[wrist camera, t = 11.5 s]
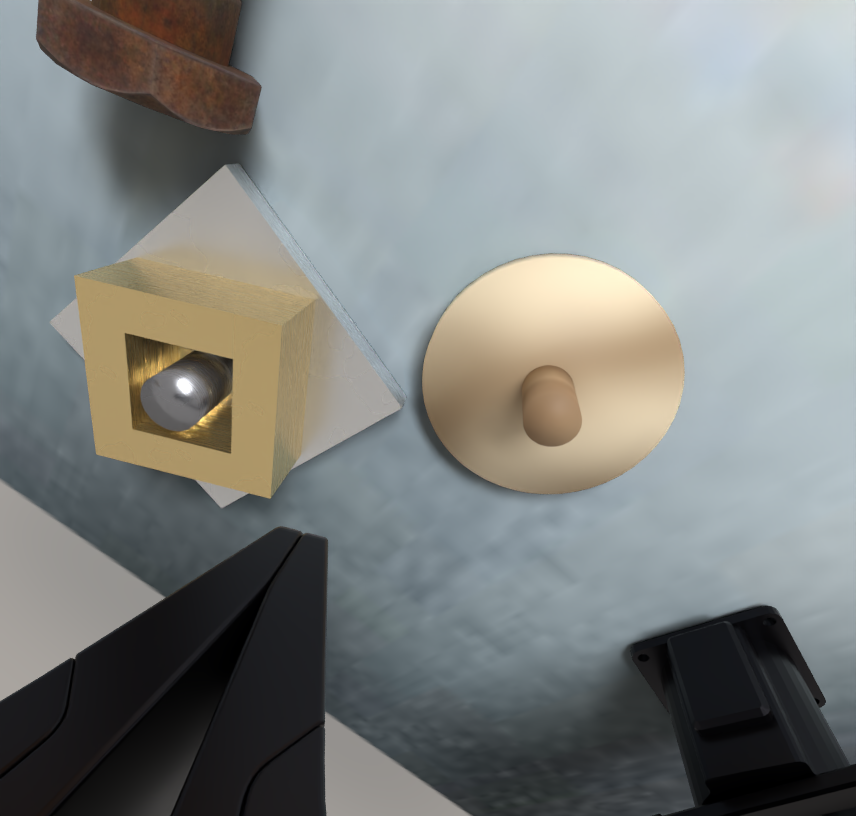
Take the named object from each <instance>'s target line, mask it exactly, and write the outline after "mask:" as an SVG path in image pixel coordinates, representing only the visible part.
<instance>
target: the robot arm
mask: <svg viewBox="0 0 856 816" xmlns="http://www.w3.org/2000/svg"><path fill="white" fill-rule="evenodd" d="M327 574H328V540H327V538H325V537H322V536H318V535H314V534H310V533H305V534H303V533H302V532H301V531H298V530H295V529H291V528H287V527H282V526H280V527H277V528H275V529H273V530H272V531H270V532H269V533H267V534H266V535H264V536H262V537H261V538H259V539H258V540H256V541H254V542H253V543H251V544H250V545H248V546H247V547H245V548H243V549H242V550H240V551H239V552H237V553H236V554H234V555H232V556H231V557H229V558H228V559H226V560H225V561H223V562H221V563H220V564H218V565H217V566H215V567H213V568H212V569H210V570H209V571H207V572H206V573H204V574H202V575H201V576H199V577H198V578H196V579H195V580H193V581H191V582H190V583H188V584H187V585H185V586H183V587H182V588H180V589H179V590H177V591H176V592H174V593H172V594H171V595H169V596H168V597H166V598H165V599H163V600H162V601H160V602H158V603H157V604H155V605H154V606H152V607H150V608H149V609H147V610H146V611H144V612H143V613H141V614H139V615H138V616H136V617H135V618H133V619H132V620H130V621H128V622H127V623H125V624H124V625H122V626H120V627H119V628H117V629H116V630H114V631H113V632H111V633H109V634H108V635H106V636H105V637H103V638H101V639H100V640H98V641H97V642H96V643H94V644H92V645H91V646H89V647H87V648H86V649H84V650H83V651H81V652H80V653H78V654H77V655H76V657H75V659H73V658H70V659H68V660H66V661H65V662H63V663H62V664H60V665H59V666H57V667H55V668H54V669H52V670H51V671H49V672H47V673H46V674H45V675H43V676H41V677H39V678H38V679H36V680H35V681H33V682H31V683H30V684H28V685H26V686H25V687H23V688H21V689H20V690H18V691H16V692H15V693H13V694H12V695H10V696H8V697H7V698H5V699H3V700H2V701H0V816H326V805H325V764H324V762H325V761H324V760H325V759H324V756H325V752H324V751H325V728H324V724H325V686H326V630H327ZM766 618H768V619H766ZM630 651H631V655H632V659H633V661H634V663H635V664H636V666H637V667H638V669H639V670H640V672H641V673H642V675H643V676H644V677H645V679H646V680H647V682H648V683H649V685H650V686H651V688H652V689H653V691H654V692H655V693H656V695H657V696H658V698H659V699H660V701H661V702H662V704H663V705H664V707H665V708H666V710H667V711H668V712H669V714H670V716H671V720H672V724H673V727H674V731H675V734H676V738H677V742H678V745H679V749H680V753H681V756H682V760H683V764H684V767H685V771H686V775H687V778H688V782H689V786H690V789H691V793H692V796H693V800H694V804H695V807H693V808H690V809H686V810H682V811H679V812H675V813H671V814H667V815H664V816H856V764H854V765H850V764H849V762H848V760H847V758H846V756H845V754H844V753H843V751H842V749H841V747H840V745H839V743H838V742H837V740H836V738H835V736H834V734H833V732H832V730H831V729H830V727H829V725H828V723H827V721H826V719H825V718H824V716H823V714H822V712H821V710H820V707H822V706H823V705H825V703H826V700H825V698H824V696H823V694H822V692H821V690H820V688H819V686H818V685H817V683H816V681H815V679H814V677H813V675H812V673H811V671H810V670H809V668H808V666H807V664H806V662H805V660H804V658H803V656H802V655H801V653H800V651H799V649H798V647H797V645H796V643H795V641H794V640H793V638H792V636H791V634H790V632H789V630H788V628H787V626H786V625H785V623H784V621H783V619H782V617H781V615H780V614H779V612H778V610H777V609H776V608H774V607H772V606H763V607H759V608H755V609H752V610H749V611H745V612H742V613H738V614H735V615H732V616H728V617H725V618H722V619H718V620H715V621H711V622H708V623H705V624H701V625H698V626H695V627H691V628H688V629H684V630H681V631H678V632H674V633H671V634H668V635H664V636H661V637H658V638H654V639H651V640H647V641H644V642H641V643H637V644H635V645H633V646H632V647H631V650H630ZM652 816H662V815H661V814H656V815H652Z"/></svg>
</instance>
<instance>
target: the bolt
mask: <svg viewBox="0 0 856 816" xmlns="http://www.w3.org/2000/svg"><path fill="white" fill-rule="evenodd" d="M241 6H242V3H241V0H92V1H90V0H39V2H38V18H37V34H36V39H37V42H38V44H39V46H40V49H41V50H42V51H43V52H44V53H45V54H46V55H47V56H48V57H49V58H51V59H52V60H53V61H54V62H55V63H56V64H57V65H59V66H61V67H62V68H64V69H66V70H67V71H69V72H70V73H72V74H74V75H75V76H77V77H79V78H81V79H82V80H84V81H86V82H88V83H90V84H92V85H94V86H96V87H99V88H101V89H104V90H106V91H108V92H111V93H113V94H116V95H118V96H120V97H123V98H125V99H128V100H130V101H132V102H135V103H137V104H140V105H142V106H144V107H147V108H149V109H152V110H155V111H157V112H160V113H163V114H165V115H168V116H171V117H173V118H176V119H179V120H181V121H184V122H187V123H189V124H192V125H195V126H197V127H200V128H204V129H209V130H213V131H218V132H223V133H227V134H232V135H246V134H248V132H249V131H250V129H251V127H252V123H253V120H254V116H255V112H256V108H257V104H258V100H259V96H260V92H261V88H262V87H261V85H260V84H259V83H258V82H257V81H256V80H255V79H254V78H253V77H252V76H250V75H248V74H246V73H244V72H242V71H240V70H238V69H236V68H234V67H232V66H230V65H229V61H230V57H231V52H232V47H233V43H234V38H235V34H236V29H237V24H238V20H239V15H240V10H241Z"/></svg>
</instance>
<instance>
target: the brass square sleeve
mask: <svg viewBox="0 0 856 816" xmlns="http://www.w3.org/2000/svg"><path fill="white" fill-rule="evenodd" d="M74 278H75V286H76V294H77V302H78V310H79V319H80V327H81V335H82V343H83V351H84V359H85V367H86V375H87V383H88V391H89V400H90V408H91V416H92V424H93V432H94V440H95V448H96V454H97V455H101V456H105V457H109V458H112V459H116V460H120V461H124V462H128V463H132V464H136V465H140V466H144V467H148V468H152V469H156V470H160V471H164V472H167V473H171V474H175V475H179V476H183V477H187V478H191V479H195V480H199V481H203V482H207V483H211V484H215V485H219V486H223V487H226V488H230V489H234V490H238V491H242V492H246V493H250V494H254V495H258V496H262V497H266V498H270V499H271V497H272V496H273V494H274V493H275V492H276V490H277V489H278V487H279V486H280V484H281V483H282V481H283V480H284V479H285V477H286V476H287V474H288V473H289V471H290V470H291V469H292V467H293V466H294V464H295V463H296V461H297V460H298V458H299V457H300V456H301V448H302V438H303V427H304V417H305V406H306V395H307V385H308V374H309V364H310V353H311V343H312V332H313V322H314V311H315V300H316V299H311V298H307V297H303V296H299V295H294V294H290V293H286V292H282V291H277V290H273V289H269V288H265V287H261V286H256V285H252V284H248V283H244V282H239V281H235V280H231V279H227V278H222V277H218V276H214V275H210V274H206V273H201V272H197V271H193V270H189V269H184V268H180V267H176V266H172V265H167V264H163V263H159V262H155V261H151V260H146V259H142V258H138V257H136V258H133V259H129V260H126V261H123V262H119V263H116V264H112V265H109V266H105V267H102V268H98V269H95V270H92V271H88V272H85V273H81V274H78V275H74ZM180 346H181V347H185V348H189V349H193V350H197V351H201V352H206V353H210V354H214V355H218V356H222V357H226V358H230V359H233V387H232V406H230V405H226V404H222V403H219V404H218V405H217V406H216V407H215V408H213V409H212V410H211V411H210V412H209V413H208V414H207V415H205V416H204V417H203V418H202V419H201V420H200V421H198V422H197V423H196V424H195V425H194V426H193V427H191V428H190V429H188V430H185V431H172V430H168V429H166V428H163V427H161V426H160V425H158V424H157V423H155V422H154V421H153V420H152V419H151V418H150V417H149V416H148V414H147V413H146V412H145V410H144V408H143V406H142V403H141V398H140V393H141V388H142V386H143V384H144V383H145V381H147V380H148V379H149V378H151V377H152V376H154V375H156V374H157V373H159V372H160V371H162V370H164V369H165V368H167V367H168V366H170V365H171V364H173V363H175V362H176V361H178V360H179V359H180Z"/></svg>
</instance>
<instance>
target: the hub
mask: <svg viewBox="0 0 856 816" xmlns="http://www.w3.org/2000/svg"><path fill="white" fill-rule="evenodd" d="M136 257H138V258H142V259H146V260H151V261H155V262H159V263H163V264H167V265H172V266H176V267H180V268H184V269H189V270H193V271H197V272H201V273H206V274H210V275H214V276H218V277H222V278H227V279H231V280H235V281H239V282H244V283H248V284H252V285H256V286H261V287H265V288H269V289H273V290H277V291H282V292H286V293H290V294H294V295H299V296H303V297H307V298H311V299H316V300H315V311H314V322H313V332H312V343H311V353H310V364H309V374H308V385H307V395H306V406H305V417H304V427H303V438H302V448H301V456H300V457H299V458H298V460H297V461H296V463H295V464H294V466H293V467H292V469H293V468H295V467H297V466H299V465H300V464H302V463H304V462H306V461H308V460H309V459H311V458H313V457H315V456H317V455H318V454H320V453H322V452H324V451H326V450H327V449H329V448H331V447H333V446H335V445H336V444H338V443H340V442H342V441H344V440H345V439H347V438H349V437H351V436H353V435H354V434H356V433H358V432H360V431H362V430H363V429H365V428H367V427H369V426H371V425H372V424H374V423H376V422H378V421H380V420H381V419H383V418H385V417H387V416H389V415H390V414H392V413H394V412H396V411H398V410H399V409H401V408H402V407H403V405H404V403H405V400H406V398H407V396H406V395H405V393H404V392H403V391H402V389H401V388H400V386H399V385H398V384H397V382H396V381H395V379H394V378H393V377H392V375H391V374H390V372H389V371H388V370H387V368H386V367H385V366H384V364H383V363H382V361H381V360H380V359H379V357H378V356H377V354H376V353H375V352H374V350H373V349H372V347H371V346H370V345H369V343H368V342H367V340H366V339H365V338H364V336H363V335H362V333H361V332H360V331H359V329H358V328H357V327H356V325H355V324H354V322H353V321H352V320H351V318H350V317H349V315H348V314H347V313H346V311H345V310H344V308H343V307H342V306H341V304H340V303H339V301H338V300H337V299H336V297H335V296H334V294H333V293H332V292H331V290H330V289H329V288H328V286H327V285H326V283H325V282H324V281H323V279H322V278H321V276H320V275H319V274H318V272H317V271H316V269H315V268H314V267H313V265H312V264H311V262H310V261H309V260H308V258H307V257H306V255H305V254H304V253H303V251H302V250H301V249H300V247H299V246H298V244H297V243H296V242H295V240H294V239H293V237H292V236H291V235H290V233H289V232H288V230H287V229H286V228H285V226H284V225H283V223H282V222H281V221H280V219H279V218H278V217H277V215H276V214H275V212H274V211H273V210H272V208H271V207H270V205H269V204H268V203H267V201H266V200H265V198H264V197H263V196H262V194H261V193H260V191H259V190H258V189H257V187H256V186H255V184H254V183H253V182H252V180H251V179H250V178H249V176H248V175H247V173H246V172H245V171H244V169H243V168H242V166H241V165H240V164H226V165H224V166H223V167H222V168H221V169H220V170H218V171H217V172H216V173H215V174H214V175H213V176H212V177H211V178H210V179H208V180H207V181H206V182H205V183H204V184H203V185H202V186H201V187H200V188H198V189H197V190H196V191H195V192H194V193H193V194H192V195H191V196H189V197H188V198H187V199H186V200H185V201H184V202H183V203H182V204H181V205H179V206H178V207H177V208H176V209H175V210H174V211H173V212H172V213H171V214H169V215H168V216H167V217H166V218H165V219H164V220H163V221H162V222H161V223H159V224H158V225H157V226H156V227H155V228H154V229H153V230H152V231H150V232H149V233H148V234H147V235H146V236H145V237H144V238H143V239H142V240H140V241H139V242H138V243H137V244H136V245H135V246H134V247H133V248H132V249H130V250H129V251H128V252H127V253H126V254H125V255H124V256H123V257H121V258H120V259H119V260H118V261H117V262H116V263H119V262H123V261H126V260H129V259H133V258H136ZM116 263H115V264H116ZM50 323H51V324H52V326H53V327H54V328H55V329H56V330H57V331H58V332H59V333H60V334H61V335H62V336H63V337H64V339H65V340H66V341H67V342H68V343H69V344H70V345H71V346H72V347H73V348H74V349H75V350H76V352H77V353H78V354H79V355H80V356H81V357H82V358H83V359H84V351H83V343H82V335H81V327H80V319H79V310H78V302H77V298H76V299H75V300H74V301H72V302H71V303H70V304H69V305H68V306H67V307H66V308H65V309H64V310H62V311H61V312H60V313H59V314H58V315H57V316H56V317H55V318H53V319H52V320H51V321H50ZM84 360H85V359H84ZM232 387H233V359H230V358H226V357H222V356H218V355H214V354H210V353H206V352H201V351H197V350H193V349H189V348H185V347H181V346H180V359H179V360H178V361H176V362H175V363H173V364H171V365H170V366H168V367H167V368H165V369H164V370H162V371H160V372H159V373H157V374H156V375H154V376H152V377H151V378H149V379H148V380H147V381H145V383H144V384H143V386H142V388H141V393H140V398H141V403H142V406H143V408H144V410H145V412H146V413H147V414H148V416H149V417H150V418H151V419H152V420H153V421H154V422H155V423H157V424H158V425H160V426H161V427H163V428H166V429H168V430H172V431H185V430H188V429H190V428H191V427H193V426H194V425H195V424H196V423H197V422H198V421H200V420H201V419H202V418H203V417H204V416H205V415H207V414H208V413H209V412H210V411H211V410H212V409H213V408H215V407H216V406H217V405H218V404H219V403H222V404H226V405H230V406H232ZM196 481H197V482H198V483H199V484H200V486H201V487H202V488H203V489H204V490H205V491H206V492H207V493H208V494H209V495H210V496H211V497H212V498H213V500H214V501H215V502H216V503H217V504H218V505H219V506H220V507H221V508H223V507H225V506H227V505H228V504H230V503H232V502H234V501H236V500H237V499H239V498H241V497H243V496H245V495H246V494H248V493H246V492H242V491H238V490H234V489H230V488H226V487H223V486H219V485H215V484H211V483H207V482H203V481H199V480H196Z"/></svg>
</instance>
